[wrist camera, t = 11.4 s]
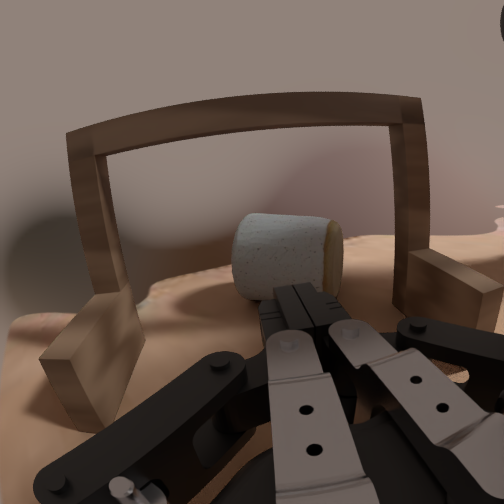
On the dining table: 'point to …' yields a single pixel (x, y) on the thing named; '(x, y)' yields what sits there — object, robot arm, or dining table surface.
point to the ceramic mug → (286, 254)
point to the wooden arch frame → (223, 122)
